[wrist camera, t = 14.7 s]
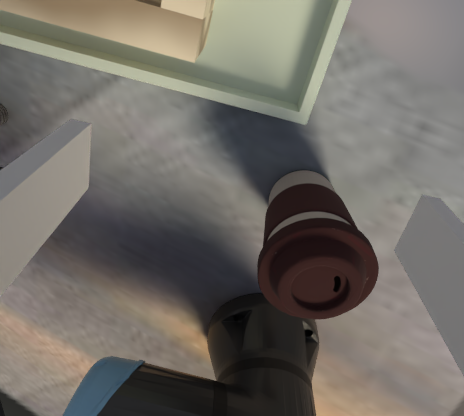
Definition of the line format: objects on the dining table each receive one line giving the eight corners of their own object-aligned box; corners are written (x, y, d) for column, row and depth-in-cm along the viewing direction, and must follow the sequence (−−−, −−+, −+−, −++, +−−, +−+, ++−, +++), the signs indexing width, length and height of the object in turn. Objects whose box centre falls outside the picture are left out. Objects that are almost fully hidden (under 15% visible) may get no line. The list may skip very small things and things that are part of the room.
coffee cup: (240, 210, 46) (235, 304, 33) (288, 140, 41) (304, 217, 28) (312, 247, 48) (332, 348, 35) (365, 184, 43) (411, 274, 30)
